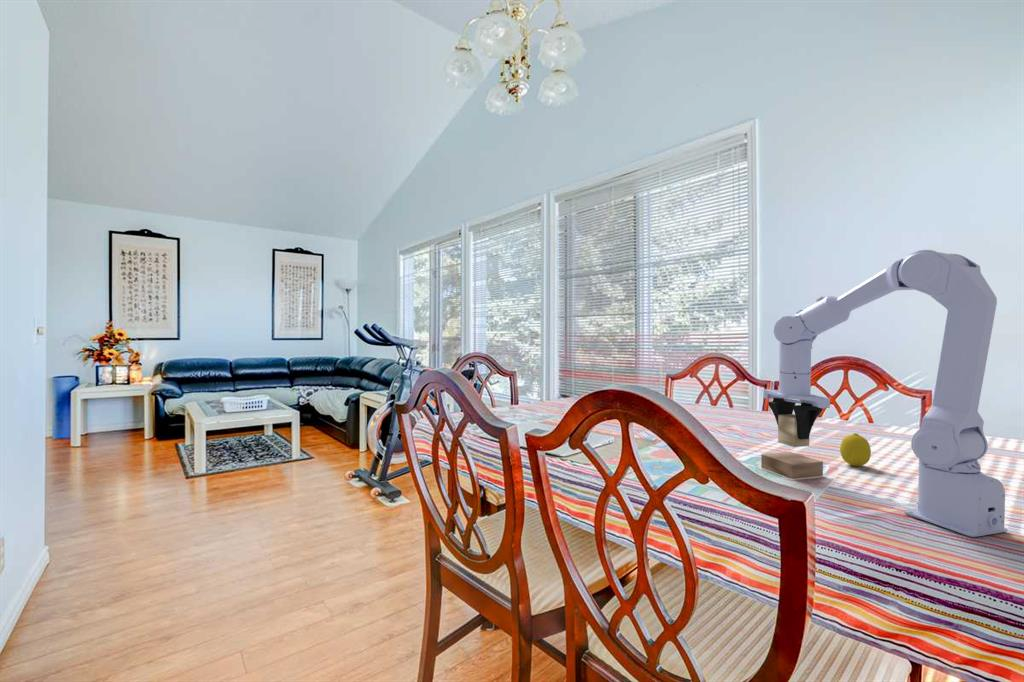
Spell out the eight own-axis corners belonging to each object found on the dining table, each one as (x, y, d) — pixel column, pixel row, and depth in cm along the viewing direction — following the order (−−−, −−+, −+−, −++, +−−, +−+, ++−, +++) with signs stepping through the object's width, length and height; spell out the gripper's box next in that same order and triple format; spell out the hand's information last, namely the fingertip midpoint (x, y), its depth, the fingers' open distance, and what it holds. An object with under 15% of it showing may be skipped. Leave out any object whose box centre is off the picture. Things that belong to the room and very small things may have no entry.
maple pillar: (809, 445, 95) (809, 417, 95) (794, 447, 94) (794, 418, 93) (792, 441, 99) (793, 414, 98) (778, 442, 97) (778, 414, 97)
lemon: (871, 473, 98) (871, 437, 98) (839, 468, 101) (840, 433, 101) (870, 467, 102) (870, 432, 102) (840, 463, 106) (840, 429, 106)
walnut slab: (822, 475, 94) (822, 461, 94) (792, 478, 92) (792, 464, 92) (790, 465, 102) (790, 451, 102) (761, 467, 100) (761, 454, 100)
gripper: (752, 370, 102) (752, 430, 102) (810, 376, 88) (809, 445, 88) (778, 369, 104) (777, 428, 104) (838, 375, 90) (837, 443, 90)
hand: (793, 436), depth 96 cm, fingers closed on maple pillar, 4 cm apart
